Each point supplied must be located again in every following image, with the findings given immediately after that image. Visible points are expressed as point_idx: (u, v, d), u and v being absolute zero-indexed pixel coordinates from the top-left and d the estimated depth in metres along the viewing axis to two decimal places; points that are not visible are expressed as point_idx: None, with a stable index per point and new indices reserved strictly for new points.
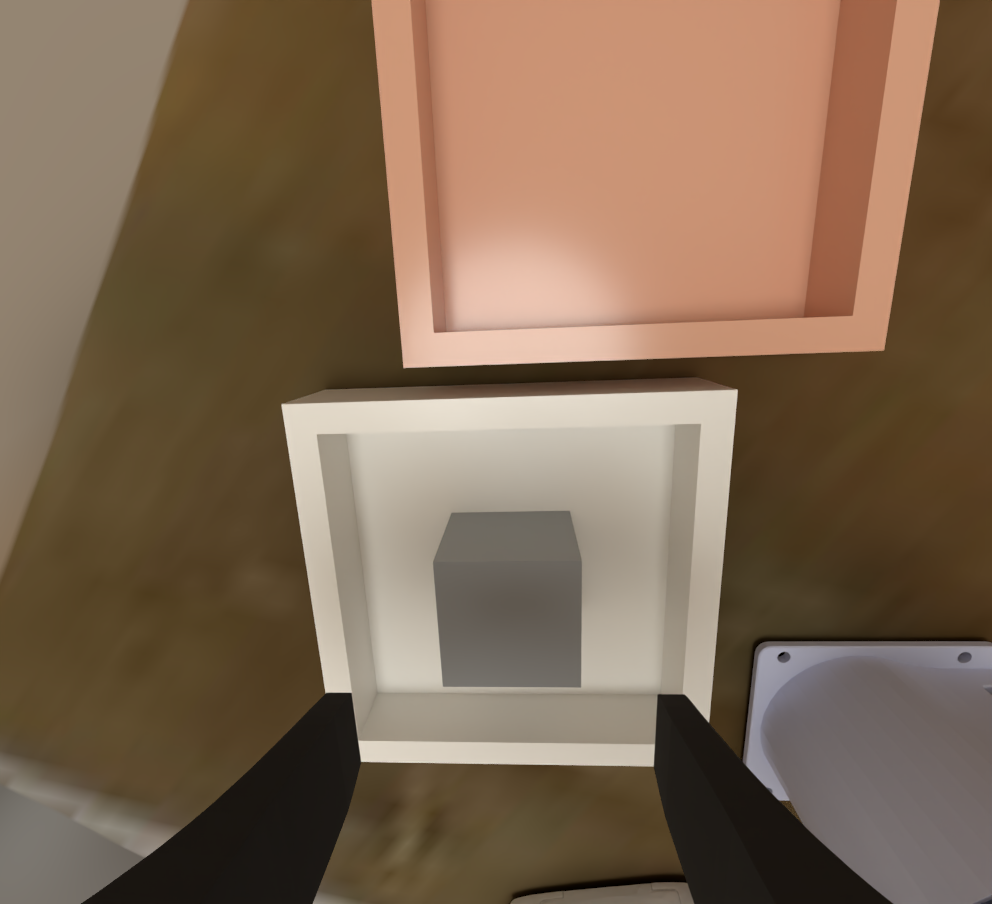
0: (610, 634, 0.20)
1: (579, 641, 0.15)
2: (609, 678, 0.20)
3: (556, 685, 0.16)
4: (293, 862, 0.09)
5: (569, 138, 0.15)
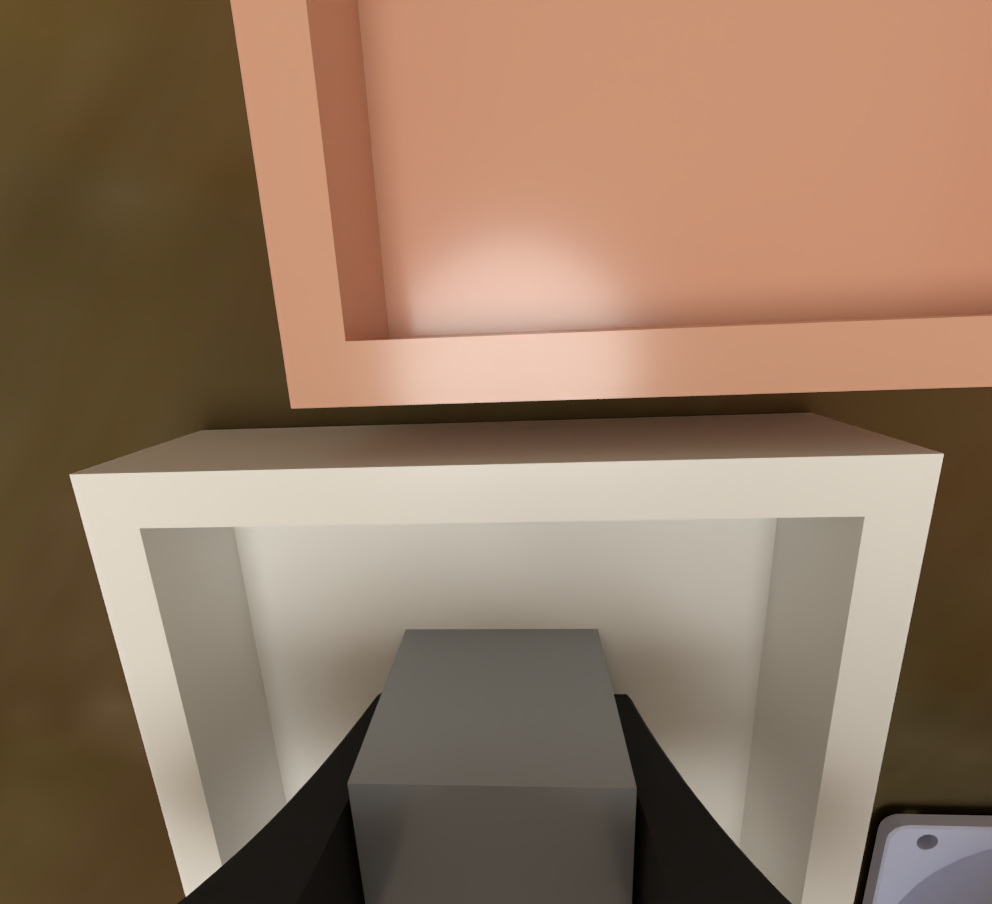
0: None
1: None
2: None
3: None
4: None
5: None
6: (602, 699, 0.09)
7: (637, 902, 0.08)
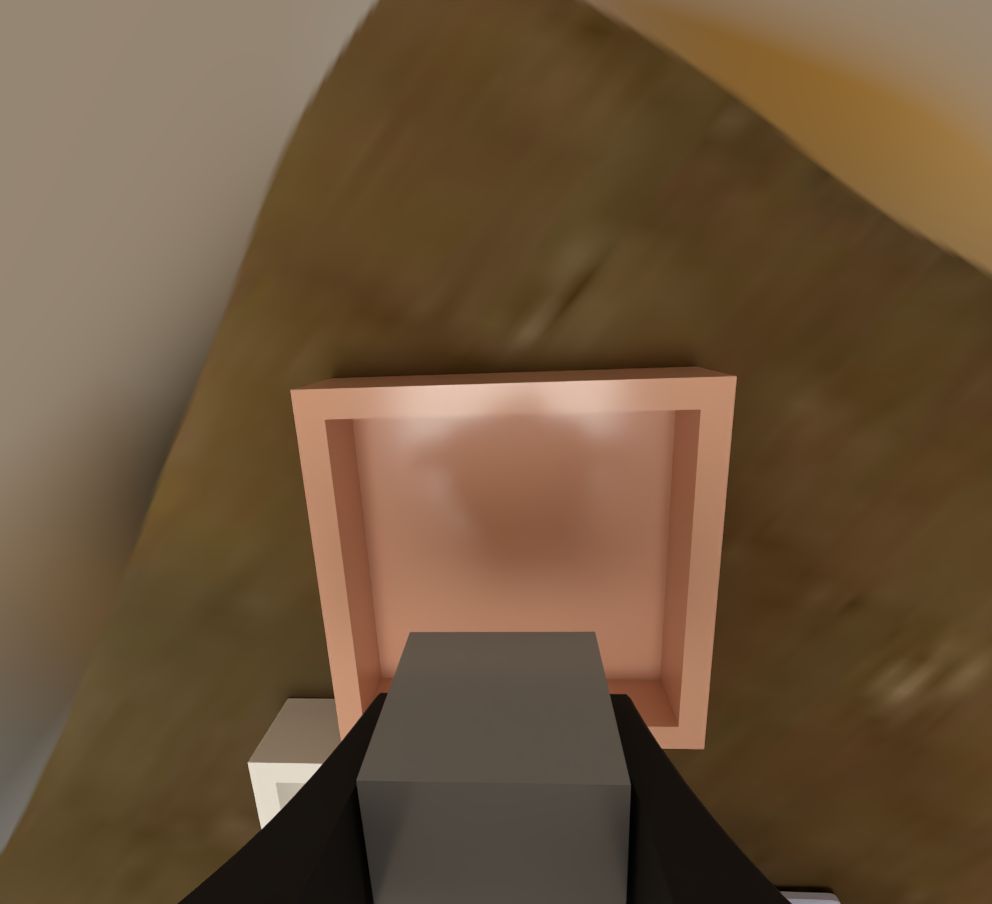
0: None
1: None
2: None
3: None
4: (361, 865, 0.09)
5: (471, 558, 0.20)
6: (599, 700, 0.10)
7: (637, 902, 0.08)
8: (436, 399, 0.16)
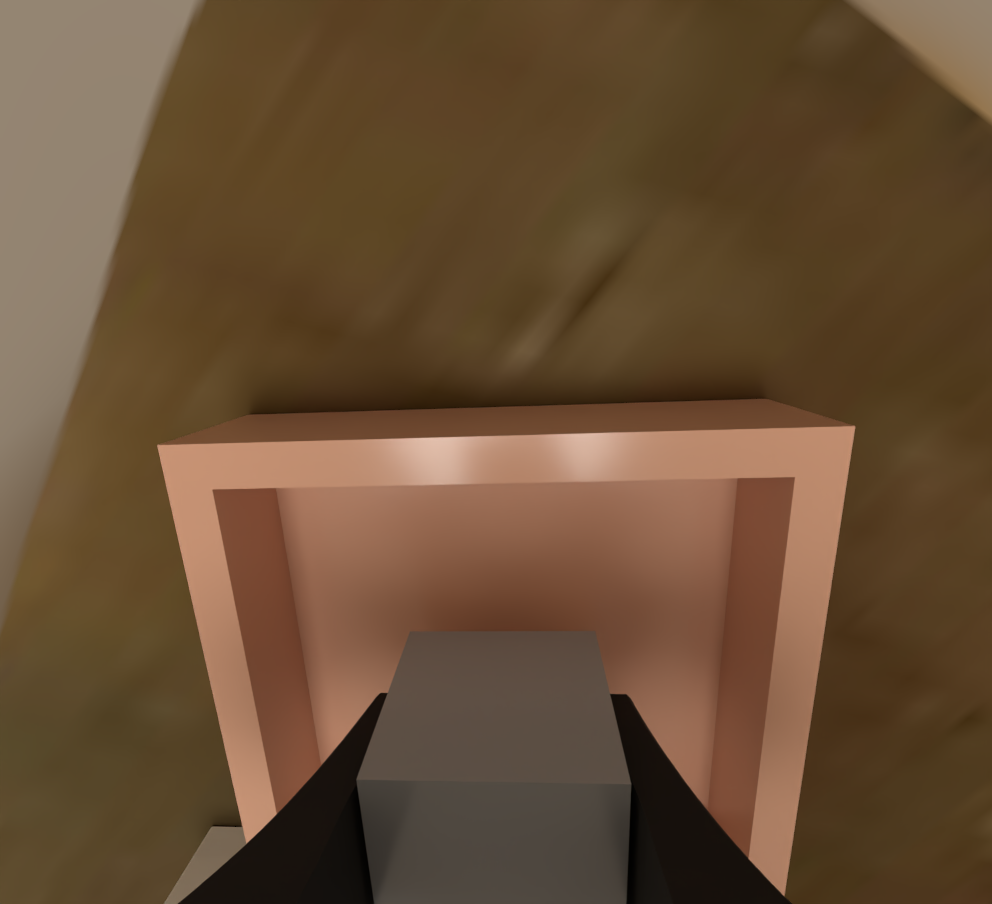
0: None
1: None
2: None
3: None
4: (362, 864, 0.09)
5: None
6: (599, 699, 0.10)
7: (637, 902, 0.08)
8: (381, 459, 0.10)
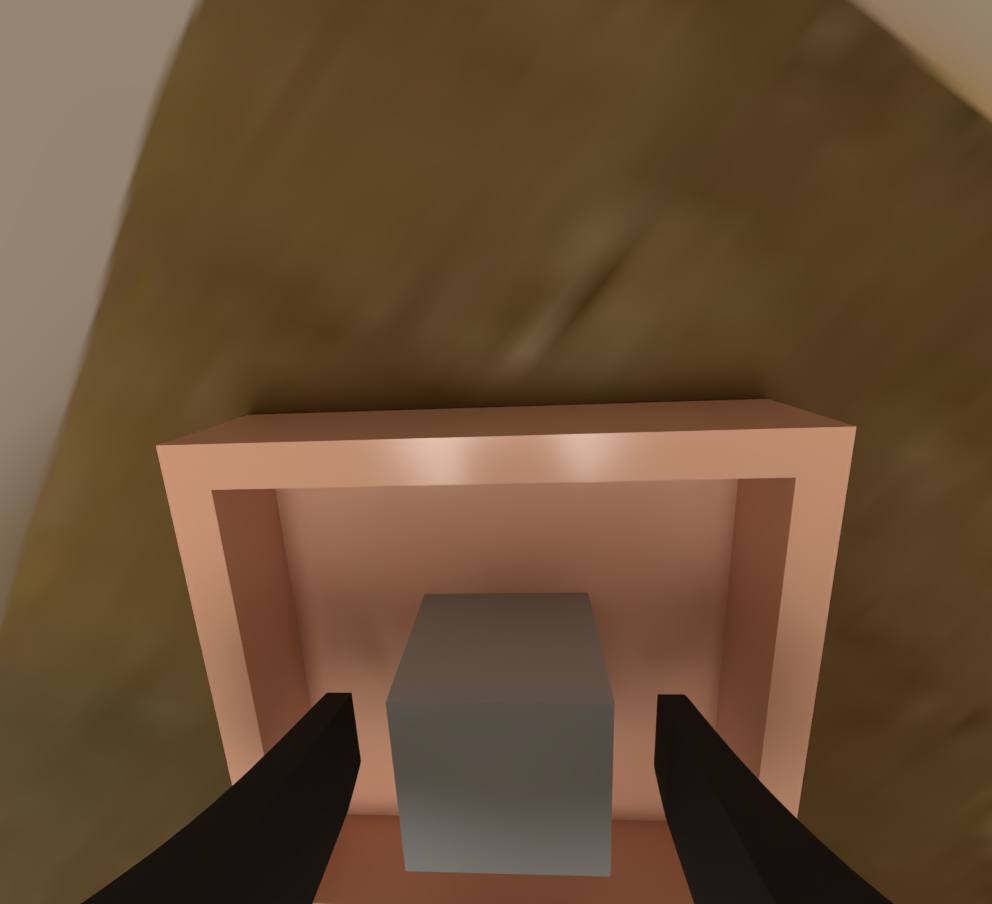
0: None
1: (608, 814, 0.10)
2: None
3: (573, 873, 0.11)
4: (293, 862, 0.09)
5: None
6: (589, 643, 0.11)
7: None
8: (380, 460, 0.10)
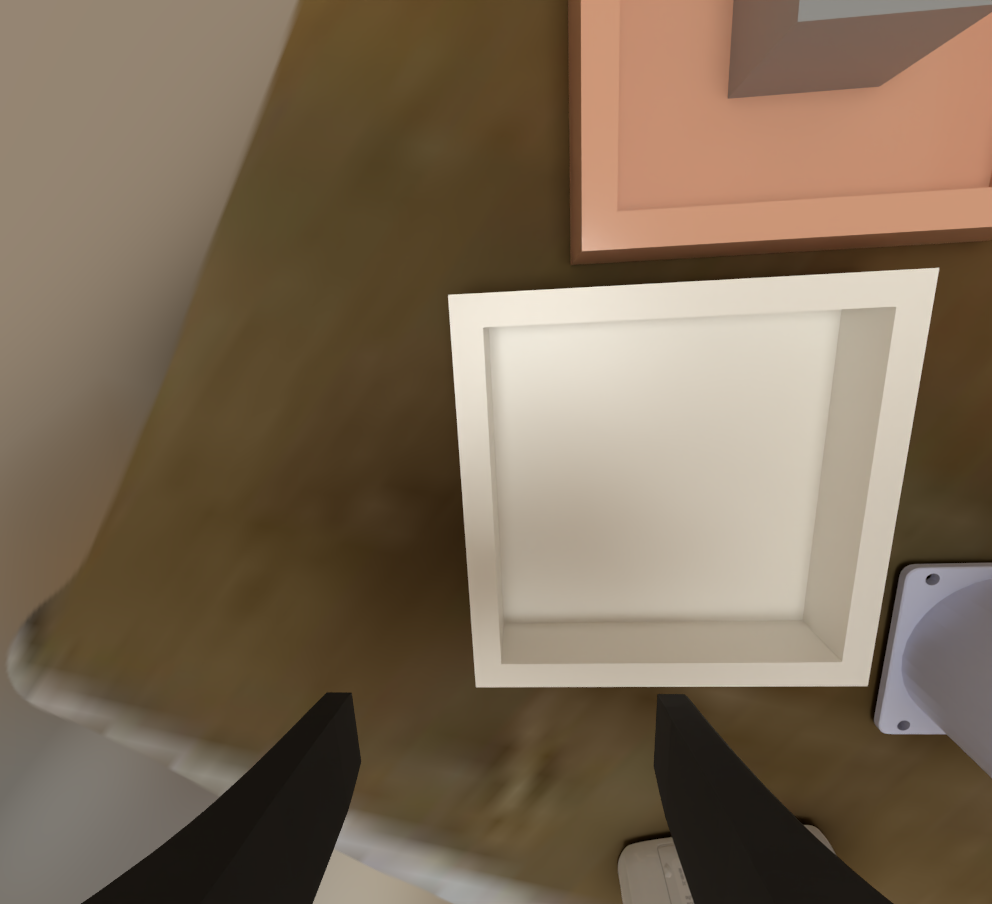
0: (754, 556, 0.19)
1: None
2: (749, 603, 0.19)
3: (969, 1, 0.11)
4: (293, 862, 0.09)
5: None
6: None
7: None
8: None
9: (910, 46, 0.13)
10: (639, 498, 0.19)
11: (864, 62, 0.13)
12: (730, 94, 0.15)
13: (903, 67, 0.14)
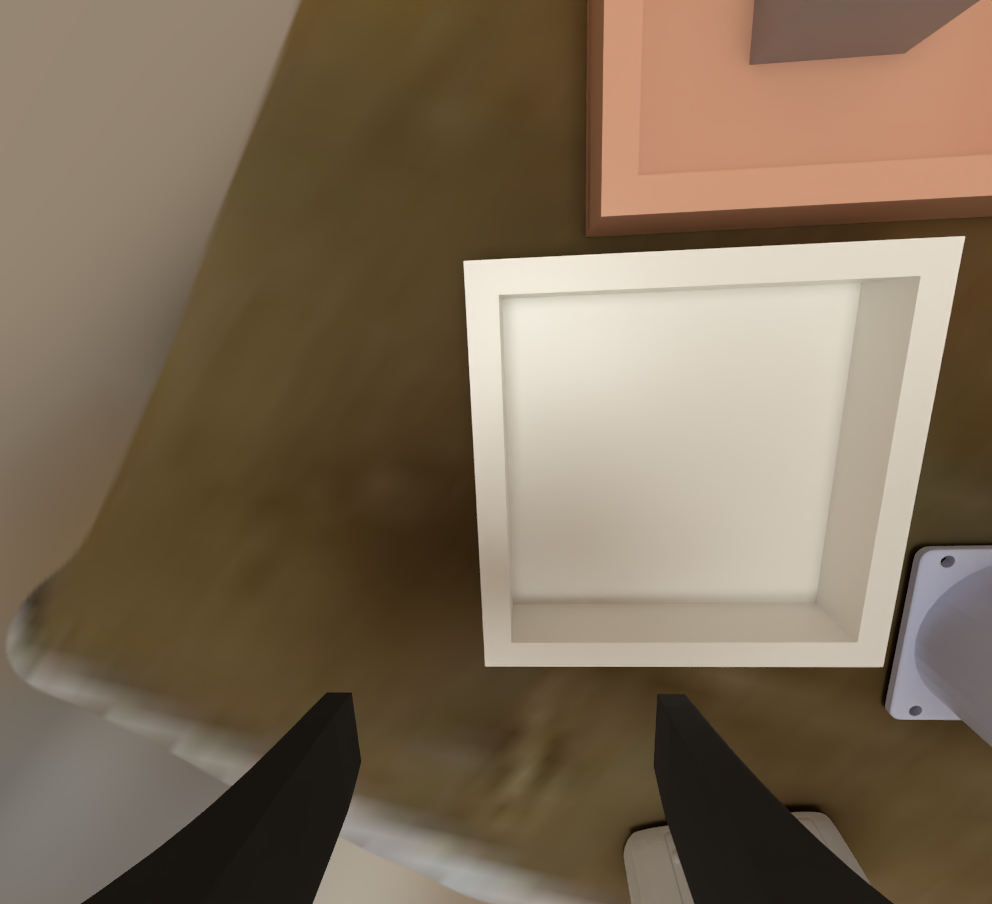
0: (767, 536, 0.19)
1: None
2: (762, 585, 0.19)
3: None
4: (293, 862, 0.09)
5: None
6: None
7: None
8: None
9: (940, 6, 0.12)
10: (652, 476, 0.18)
11: (892, 24, 0.13)
12: (753, 60, 0.15)
13: (930, 32, 0.13)
